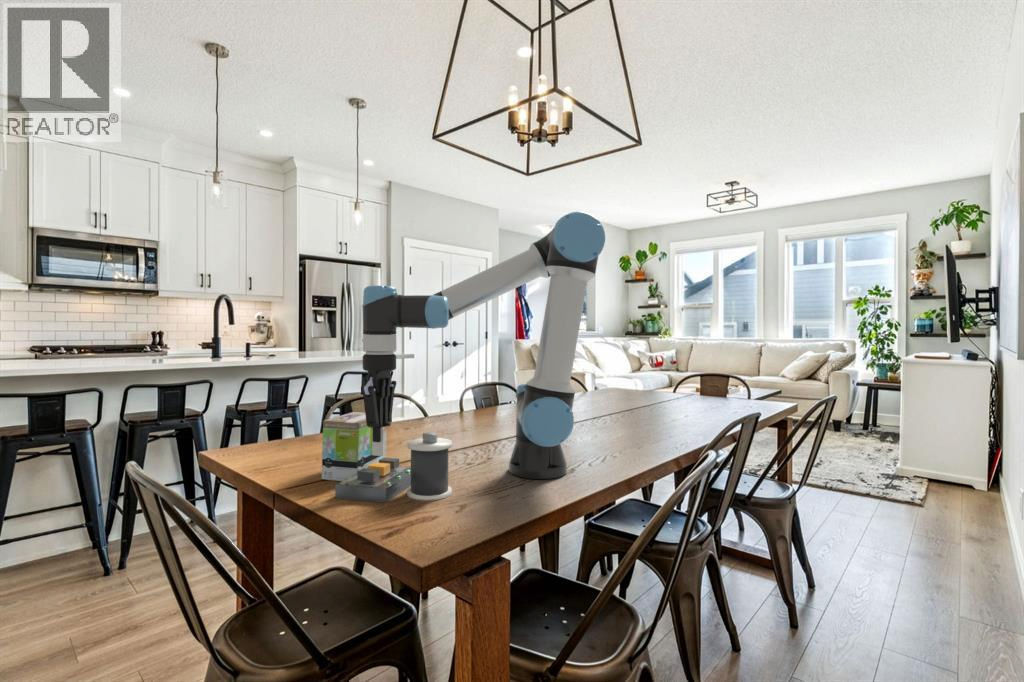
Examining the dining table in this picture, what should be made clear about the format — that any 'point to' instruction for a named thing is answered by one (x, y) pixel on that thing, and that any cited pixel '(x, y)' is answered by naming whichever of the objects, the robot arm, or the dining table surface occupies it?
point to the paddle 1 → (368, 475)
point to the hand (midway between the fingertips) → (379, 454)
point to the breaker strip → (375, 486)
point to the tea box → (346, 446)
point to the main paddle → (381, 468)
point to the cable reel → (429, 468)
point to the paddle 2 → (390, 462)
